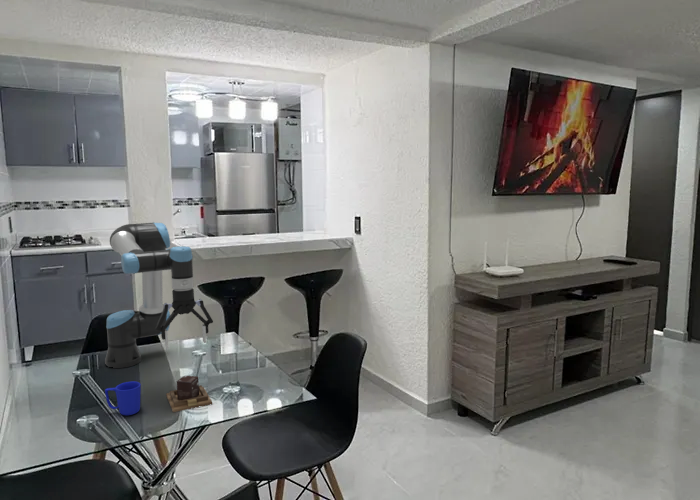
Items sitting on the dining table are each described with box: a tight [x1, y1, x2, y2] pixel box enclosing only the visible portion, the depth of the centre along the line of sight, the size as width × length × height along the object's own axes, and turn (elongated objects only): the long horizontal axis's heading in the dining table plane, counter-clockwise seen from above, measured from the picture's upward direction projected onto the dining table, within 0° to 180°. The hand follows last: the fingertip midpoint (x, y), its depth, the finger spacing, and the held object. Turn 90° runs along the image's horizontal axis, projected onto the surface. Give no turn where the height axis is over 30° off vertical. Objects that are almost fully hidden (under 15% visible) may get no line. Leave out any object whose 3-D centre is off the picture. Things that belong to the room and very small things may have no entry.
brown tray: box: [165, 385, 213, 413], centre depth 195 cm, size 16×14×2 cm
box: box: [176, 375, 200, 400], centre depth 195 cm, size 6×6×7 cm
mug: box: [104, 380, 142, 416], centre depth 184 cm, size 8×12×10 cm
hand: (185, 344), depth 192 cm, fingers open, 13 cm apart
